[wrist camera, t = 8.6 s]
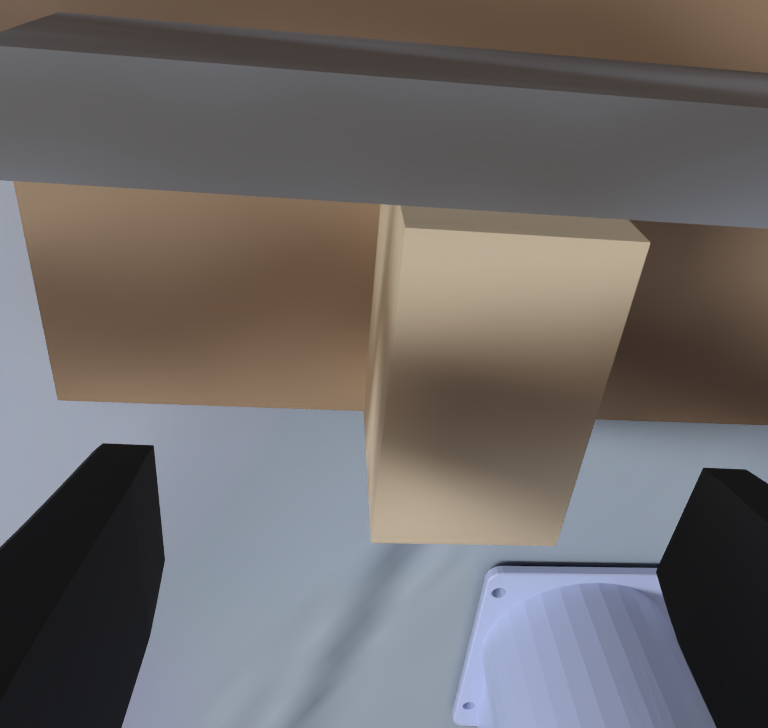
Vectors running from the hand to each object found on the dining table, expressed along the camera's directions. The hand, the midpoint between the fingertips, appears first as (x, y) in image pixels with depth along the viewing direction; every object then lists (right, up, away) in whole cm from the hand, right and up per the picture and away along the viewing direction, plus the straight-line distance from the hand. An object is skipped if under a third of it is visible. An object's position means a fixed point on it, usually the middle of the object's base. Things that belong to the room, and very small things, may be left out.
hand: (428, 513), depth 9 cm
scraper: (+1, +4, +8) cm, 9 cm away
